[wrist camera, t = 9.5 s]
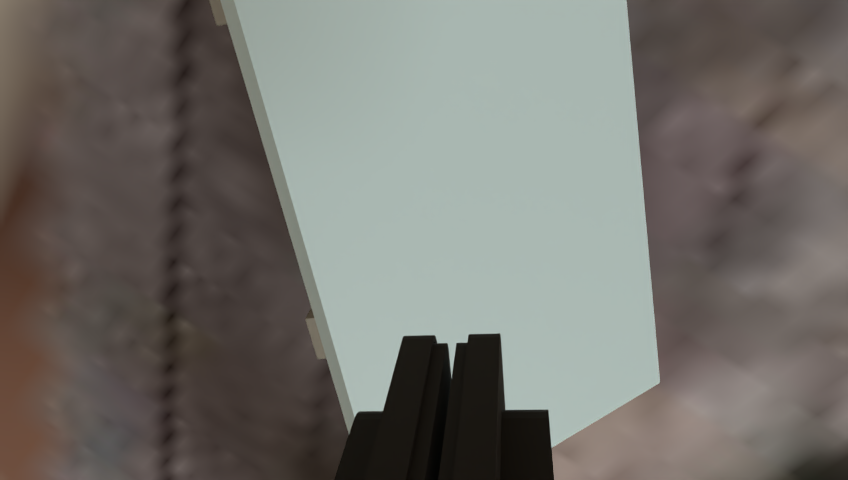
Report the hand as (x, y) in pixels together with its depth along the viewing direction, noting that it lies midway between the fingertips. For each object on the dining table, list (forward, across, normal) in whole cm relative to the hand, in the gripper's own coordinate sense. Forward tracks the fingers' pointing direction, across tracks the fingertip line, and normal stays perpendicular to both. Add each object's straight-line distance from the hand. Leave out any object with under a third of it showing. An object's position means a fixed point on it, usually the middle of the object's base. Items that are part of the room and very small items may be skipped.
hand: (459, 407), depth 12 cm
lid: (+11, 0, 0) cm, 11 cm away
